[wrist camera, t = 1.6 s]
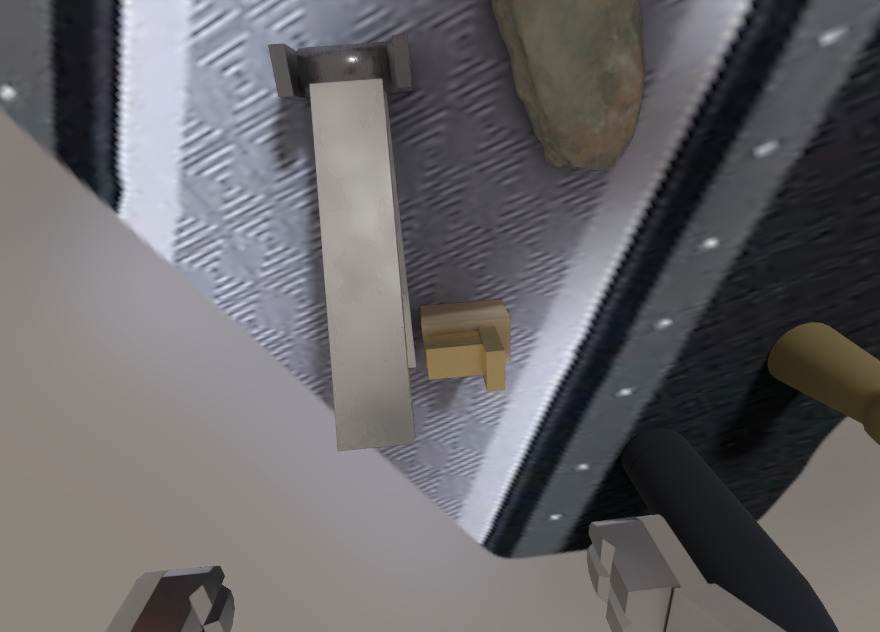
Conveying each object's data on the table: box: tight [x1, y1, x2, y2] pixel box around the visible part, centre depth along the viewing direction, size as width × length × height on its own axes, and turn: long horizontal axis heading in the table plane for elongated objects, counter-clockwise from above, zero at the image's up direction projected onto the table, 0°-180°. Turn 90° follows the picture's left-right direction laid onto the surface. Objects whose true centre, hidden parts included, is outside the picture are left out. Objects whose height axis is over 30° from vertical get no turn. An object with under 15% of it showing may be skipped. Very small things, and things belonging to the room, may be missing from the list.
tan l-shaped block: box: [425, 326, 505, 391], centre depth 30 cm, size 3×5×4 cm, turn 94°
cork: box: [768, 323, 880, 445], centre depth 33 cm, size 6×6×11 cm
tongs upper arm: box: [297, 42, 415, 451], centre depth 24 cm, size 22×5×2 cm, turn 3°
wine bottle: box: [621, 428, 839, 632], centre depth 28 cm, size 6×6×30 cm
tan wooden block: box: [420, 299, 510, 369], centre depth 33 cm, size 4×6×4 cm, turn 94°
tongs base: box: [268, 35, 416, 368], centre depth 29 cm, size 22×7×5 cm, turn 4°
